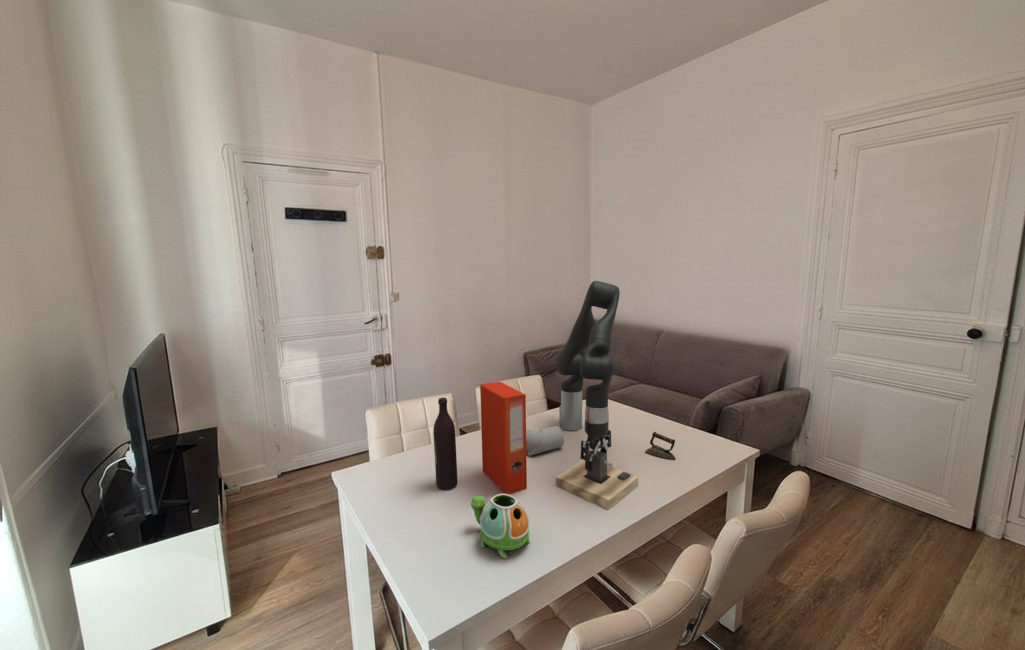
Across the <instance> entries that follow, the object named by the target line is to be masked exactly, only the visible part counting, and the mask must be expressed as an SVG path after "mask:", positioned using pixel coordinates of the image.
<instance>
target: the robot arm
mask: <svg viewBox="0 0 1025 650" xmlns="http://www.w3.org/2000/svg"><path fill="white" fill-rule="evenodd" d="M620 294H621V293H620V289H619V287H618V286H617V285H614V284H612V283H608V282H603V281H600V280H593V281H592V282H591V283H590V285H589V286H588V289H587V292H586V294H585V298H584V300H583V303H582V306H581V309H580V312H579V314H578V317H577V319H576V320H575V323H574V325H573V326H572V329H571V332H570V335H569V337H568V339H567V341H566V343H565V345H564V347H563V348H562V350H561V352H560V354H559V356H558V358H557V362H556V370H557V372H558V374H559V375H561V376H569V377H568V378H567V379H566V380H564V381H562V382H561V383H560V391H561V393H560V397H561V398H560V399H561V400H560V401H561V402H560V403H561V404H560V405H559V406H558V407H559V427H561V428H562V429H563V430H565V431H570V432H571V431H579V430H581V429H582V428H583V384H584V379H586V380H596V381H597V380H598V381H600V380H601V382H600V383H599V384H593V385H589V386H587V387H586V389H585V407H584V432H585V433H586V435H587V438H586V440H581V442H580V457H579V458H580V459H581V460H585V469H586V470H587V471H590V472H591V471H592V459H593V456H594V455H595V454H596V452H597V451H600V452H603V453H606V454H607V455H608V451H609V448H611V447H612V430H611V429H609V424H610V423H609V421H610V420H609V418H610V417H609V415H610V414H609V412H610V411H609V392H610V391H609V390H610V386H611V382H612V378H613V377H614V372H615V363H614V361H613V360H612V359H611V358H610V357H605V356H608V355H609V353H610V352H611V342H612V331H613V326H614V323H615V322H614V321H615V319H616V316H617V315H616V314H617V310H618V304H619V301H620ZM592 307H595V308H599V309H602V310H606V312H605V314H604V315H603V316H602V317H601V318H600V319H598V320H597V321H596V319H595V317H594V315H593V309H592ZM585 350H586V351H585ZM584 351H585V353H584V356H583V355H582V354H581V353H582V352H584ZM599 449H600V450H599ZM592 450H593V451H592ZM589 453H591V454H590V457H589Z"/></svg>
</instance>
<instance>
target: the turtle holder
mask: <svg viewBox="0 0 1025 650" xmlns="http://www.w3.org/2000/svg"><path fill="white" fill-rule="evenodd" d="M470 506H471V509H472V510H473V512H474V516H475V520H476V521H477V523H478V524H479V525H480V530H479V535H480V538H481V542H480V546H481V548H483V549H485V548H486V547H487V546H489V547H490V548H493V549H496V550H497V554H498V555H499V557H500V558H501V559H507V558H508V554H507V552H506V551H513V550H518V549H519V548H521V547H522V546H524V545H526V544H530V543H531V541H530V539H529V538H530V530H529V529H530V519H529V515H528V512H527V510H526V508H525V506H524V505H523V504H522V503H521V502H520V501H519V500H518V499H517V498H516V497H514V496H513V495H512V494H509V495H508V494H504V493H497V494H496V495H493V496H492V497H491V498H490V500H489V501H487V503H486V502H485V497H484V496H483V495H479V496H478V495H474V496H473V497H472V499H471V502H470Z"/></svg>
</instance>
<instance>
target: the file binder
mask: <svg viewBox="0 0 1025 650" xmlns="http://www.w3.org/2000/svg"><path fill="white" fill-rule="evenodd" d="M479 389H480V423H481V424H480V425H481V427H480V429H481V460H482V461H481V463H482V466H481V467H482V473H484V475H485V476H486V477H487V478H488V479H489V480H490V481H492V483H494V484H495V485H496V486H497V488H498V489H499V490H500V491H501V492H502V494H508V495H513V494H515V493H519V492H520V491H524V490H526V489H527V488H528V487H527V486H528V483H527V477H528V476H527V475H528V473H527V452H526V429H527V408H526V407H527V403H526V402H527V401H526V399H527V395H526V393H523V392H521V391H519V390H517V388H514V387H512V386H510V385H507V384H506V383H504V382H502V381H495V382H489V383H483V384H480V385H479Z"/></svg>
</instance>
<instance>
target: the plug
mask: <svg viewBox="0 0 1025 650" xmlns="http://www.w3.org/2000/svg"><path fill="white" fill-rule="evenodd" d="M591 450H592V451H593V449H591ZM590 454H591V453H589V457H590ZM607 465H608V466H611V467H613V466H614V462H612V461H611V462H610V461H608V453H607V454H606V453H603V452H600V450H597V452H596V454H595V455H594V456H593V459H592V471H591V472H590V471H587V479H589V480H592V481H594V482H597V483H599V484H602V483H603V482H605V481H606V480H607Z"/></svg>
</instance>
